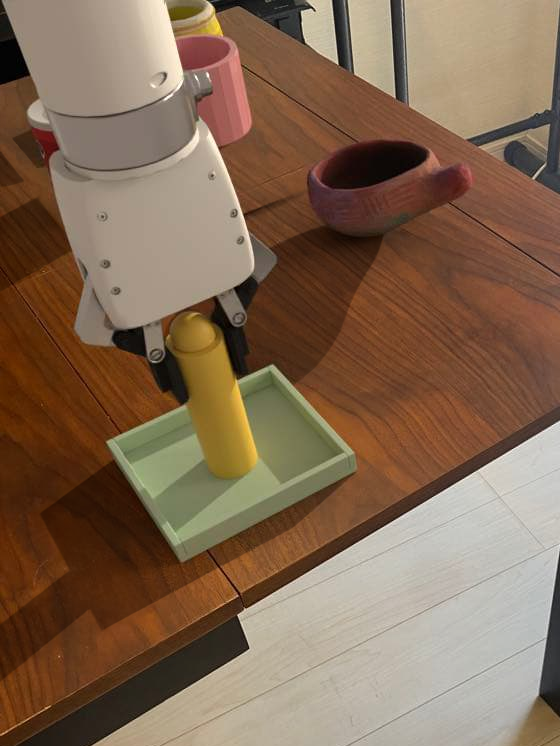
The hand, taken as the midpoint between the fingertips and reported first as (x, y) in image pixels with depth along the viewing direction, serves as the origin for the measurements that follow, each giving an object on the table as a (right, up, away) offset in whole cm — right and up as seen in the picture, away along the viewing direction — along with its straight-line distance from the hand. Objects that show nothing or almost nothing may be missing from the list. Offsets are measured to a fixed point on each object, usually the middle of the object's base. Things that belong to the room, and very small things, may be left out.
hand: (206, 377), depth 60 cm
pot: (-10, +38, +42) cm, 58 cm away
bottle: (+1, -5, +7) cm, 9 cm away
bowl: (+13, +21, +28) cm, 37 cm away
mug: (-15, +51, +53) cm, 75 cm away
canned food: (-19, +25, +33) cm, 45 cm away
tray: (0, -6, +7) cm, 9 cm away
